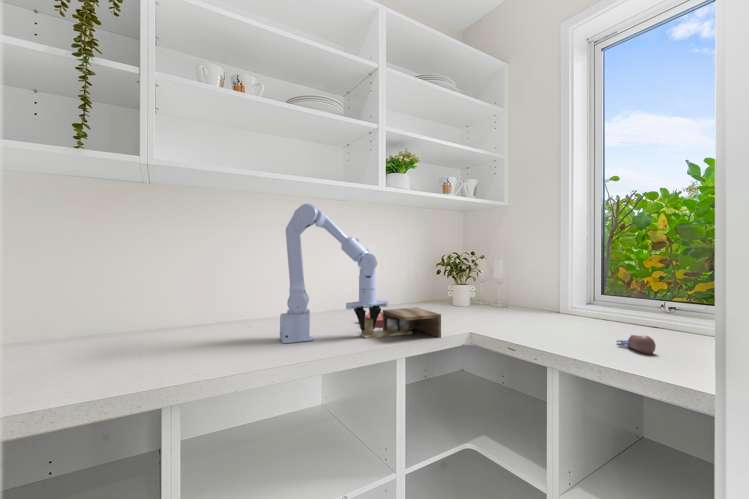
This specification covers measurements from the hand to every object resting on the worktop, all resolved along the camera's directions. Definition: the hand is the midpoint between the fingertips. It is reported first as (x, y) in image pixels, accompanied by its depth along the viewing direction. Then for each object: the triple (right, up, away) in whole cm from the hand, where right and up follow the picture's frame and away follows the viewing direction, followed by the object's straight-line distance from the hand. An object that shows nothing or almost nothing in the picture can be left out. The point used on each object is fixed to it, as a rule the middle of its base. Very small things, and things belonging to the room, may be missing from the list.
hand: (367, 329), depth 114 cm
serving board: (+7, -3, +3) cm, 8 cm away
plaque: (+4, -4, +23) cm, 24 cm away
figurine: (+78, -3, -16) cm, 80 cm away
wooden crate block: (+15, -3, +3) cm, 16 cm away
